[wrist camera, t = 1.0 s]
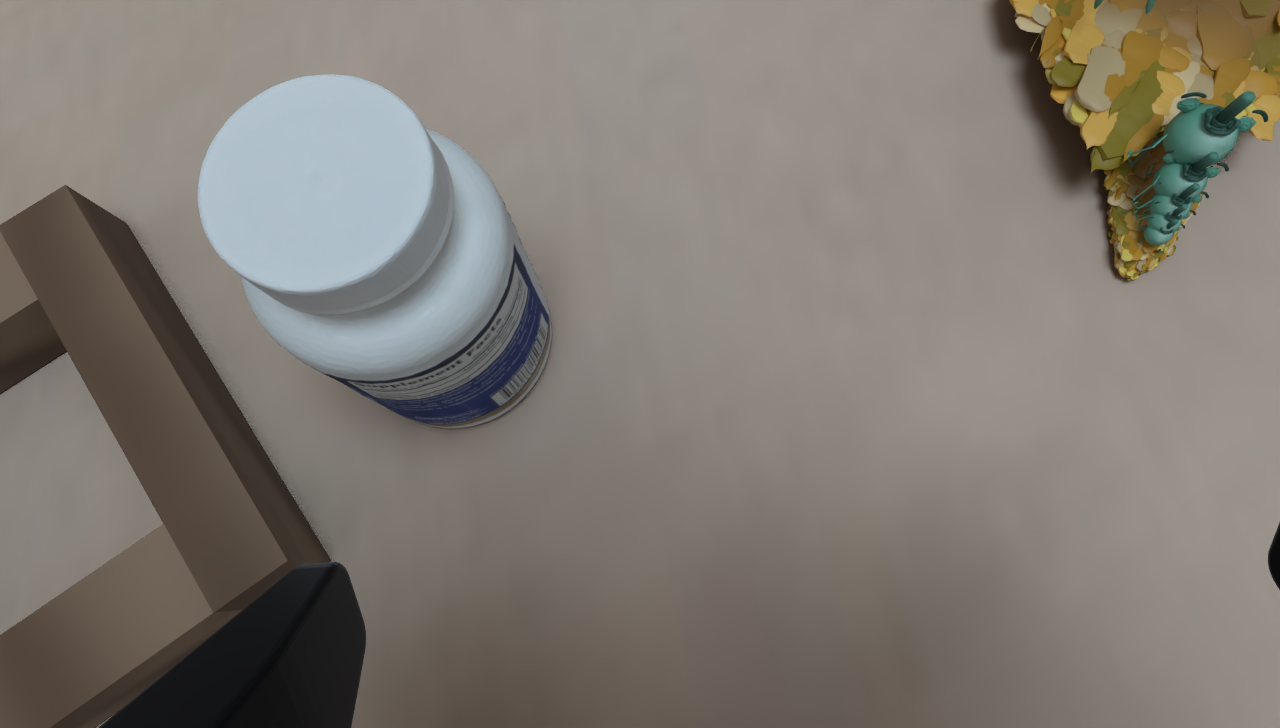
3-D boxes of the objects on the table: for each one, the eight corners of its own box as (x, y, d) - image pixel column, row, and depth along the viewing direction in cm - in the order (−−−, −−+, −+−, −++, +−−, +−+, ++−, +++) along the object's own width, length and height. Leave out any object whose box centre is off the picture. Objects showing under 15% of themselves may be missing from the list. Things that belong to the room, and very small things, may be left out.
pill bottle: (346, 280, 23) (127, 87, 14) (524, 226, 23) (430, -2, 14) (389, 458, 22) (180, 380, 12) (577, 398, 22) (513, 276, 13)
